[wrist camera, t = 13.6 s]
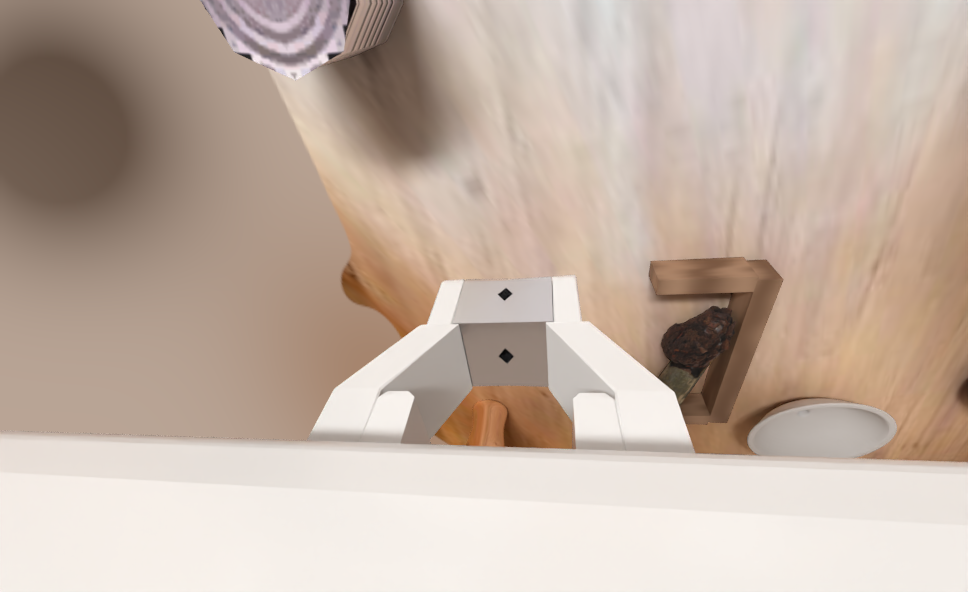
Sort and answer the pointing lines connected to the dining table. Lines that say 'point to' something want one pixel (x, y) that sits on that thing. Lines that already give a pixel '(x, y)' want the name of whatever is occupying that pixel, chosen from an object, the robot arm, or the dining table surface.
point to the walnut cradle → (750, 310)
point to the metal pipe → (695, 348)
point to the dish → (822, 429)
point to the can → (302, 30)
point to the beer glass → (488, 424)
